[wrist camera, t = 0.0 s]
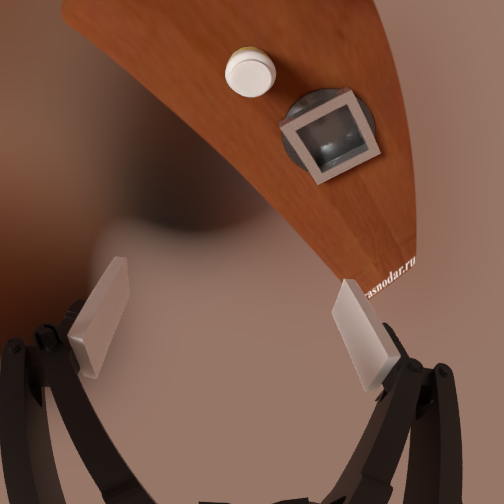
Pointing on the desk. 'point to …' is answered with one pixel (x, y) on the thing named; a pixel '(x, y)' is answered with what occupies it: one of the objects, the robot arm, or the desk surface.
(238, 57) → the supplement bottle
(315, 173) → the socket
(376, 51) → the desk surface
